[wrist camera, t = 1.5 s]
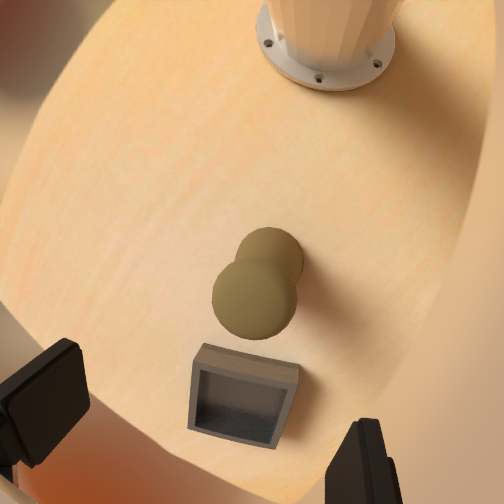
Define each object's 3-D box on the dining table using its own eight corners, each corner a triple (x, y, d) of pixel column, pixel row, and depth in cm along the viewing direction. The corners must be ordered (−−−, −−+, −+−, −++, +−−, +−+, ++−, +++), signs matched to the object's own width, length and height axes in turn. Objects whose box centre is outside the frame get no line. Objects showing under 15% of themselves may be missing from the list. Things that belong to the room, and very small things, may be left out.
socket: (203, 342, 31) (193, 360, 28) (299, 364, 30) (298, 384, 26) (196, 409, 33) (187, 428, 30) (278, 429, 32) (275, 449, 29)
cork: (246, 218, 27) (211, 243, 17) (312, 239, 27) (319, 277, 16) (229, 280, 29) (189, 336, 18) (291, 300, 28) (284, 367, 18)
